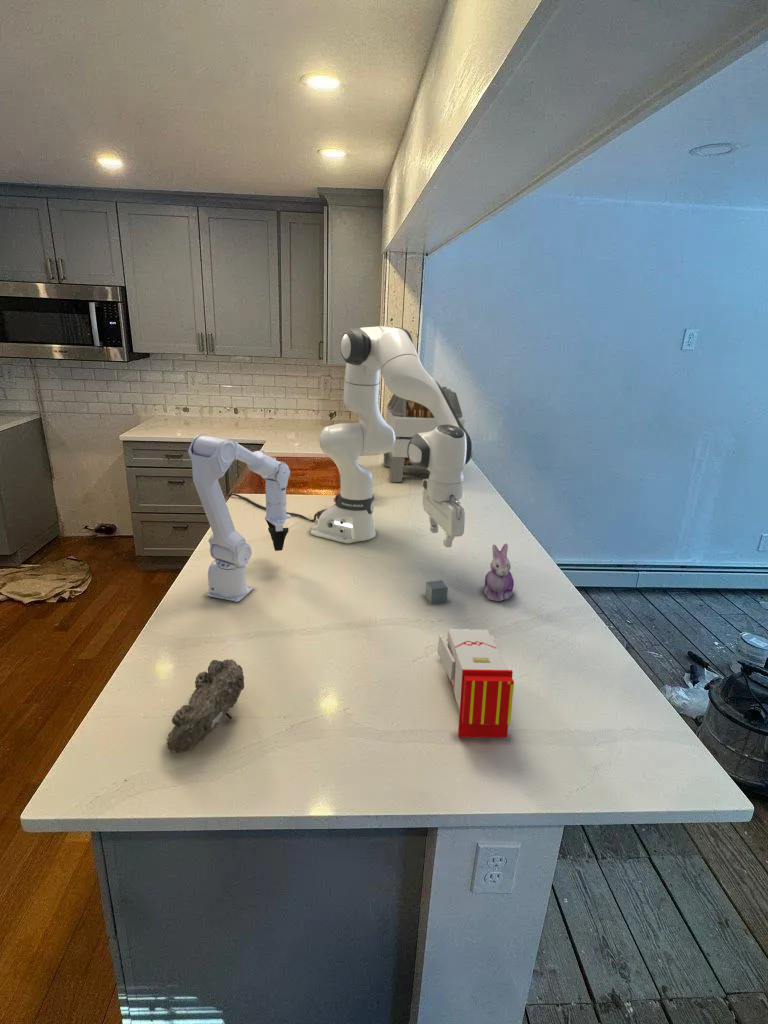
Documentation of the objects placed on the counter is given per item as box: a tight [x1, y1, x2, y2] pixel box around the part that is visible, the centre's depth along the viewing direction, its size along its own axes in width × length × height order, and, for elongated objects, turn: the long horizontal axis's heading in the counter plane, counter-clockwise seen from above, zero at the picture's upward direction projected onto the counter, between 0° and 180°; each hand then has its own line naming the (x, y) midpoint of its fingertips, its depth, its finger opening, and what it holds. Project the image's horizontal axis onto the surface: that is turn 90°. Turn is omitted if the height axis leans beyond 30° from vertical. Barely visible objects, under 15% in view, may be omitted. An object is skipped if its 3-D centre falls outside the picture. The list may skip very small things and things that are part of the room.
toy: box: [437, 628, 515, 738], centre depth 117 cm, size 12×13×30 cm
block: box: [424, 579, 449, 604], centre depth 155 cm, size 4×5×4 cm
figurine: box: [483, 543, 515, 602], centre depth 157 cm, size 9×10×15 cm
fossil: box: [166, 658, 245, 754], centre depth 106 cm, size 22×10×15 cm
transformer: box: [383, 386, 465, 483], centre depth 268 cm, size 34×33×41 cm
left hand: (277, 545), depth 167 cm, fingers open, 7 cm apart
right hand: (440, 538), depth 150 cm, fingers open, 8 cm apart
